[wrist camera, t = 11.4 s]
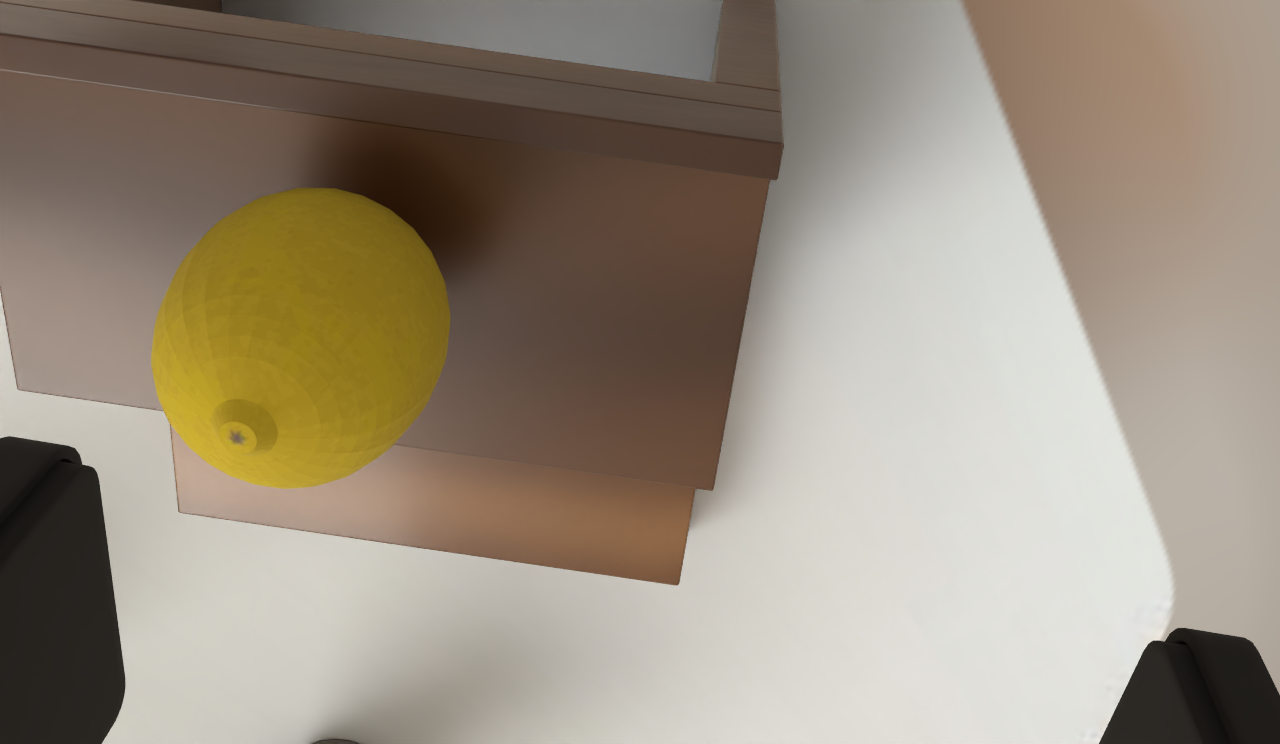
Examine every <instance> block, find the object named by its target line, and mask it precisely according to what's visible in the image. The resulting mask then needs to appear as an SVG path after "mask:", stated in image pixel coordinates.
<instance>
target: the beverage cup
mask: <svg viewBox="0 0 1280 744" xmlns="http://www.w3.org/2000/svg"><path fill="white" fill-rule="evenodd" d="M314 744H357V743H354V742H352V741H344V740H336V739H334V740H324V741H319V742H316V743H314Z"/></svg>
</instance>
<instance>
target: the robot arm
mask: <svg viewBox="0 0 1280 744" xmlns="http://www.w3.org/2000/svg"><path fill="white" fill-rule="evenodd" d="M124 693H125V673H124V666H123V658H122V651H121V643H120V635H119V628H118V620H117V613H116V605H115V598H114V590H113V583H112V575H111V568H110V560H109V552H108V545H107V537H106V530H105V522H104V515H103V507H102V500H101V492H100V485H99V479H98V475H97V472H96V471H95V469H94V468H93V467H90V466H86V465H82V462H81V458H80V455H79V453H78V452H77V451H76V449H75V448H72V447H70V446H66V445H59V444H53V443H47V442H41V441H35V440H29V439H23V438H17V437H10V436H8V437H4V438H0V744H102V742H103V741H104V739H105V737H106V736H107V734H108V732H109V731H110V729H111V727H112V726H113V724H114V722H115V720H116V718H117V716H118V714H119V711H120V709H121V706H122V702H123V698H124ZM1099 744H1280V695H1279V693H1278V691H1277V689H1276V687H1275V685H1274V683H1273V681H1272V678H1271V676H1270V674H1269V672H1268V670H1267V668H1266V666H1265V664H1264V662H1263V660H1262V658H1261V656H1260V654H1259V652H1258V650H1257V649H1256V647H1255V646H1254V644H1253V643H1252V642H1251V641H1249V640H1247V639H1246V638H1243V637H1236V636H1230V635H1224V634H1218V633H1212V632H1206V631H1200V630H1194V629H1187V628H1177V629H1175V630H1174V631H1173V632H1171V633H1170V634H1169V636H1168V637H1167V639H1166V641H1165V642H1163V641H1152V642H1151V643H1149V644H1148V645H1147V647H1146V648H1145V650H1144V651H1143V654H1142V656H1141V658H1140V660H1139V662H1138V664H1137V666H1136V668H1135V670H1134V672H1133V674H1132V676H1131V678H1130V680H1129V683H1128V685H1127V687H1126V689H1125V691H1124V693H1123V695H1122V697H1121V699H1120V701H1119V703H1118V705H1117V707H1116V709H1115V712H1114V714H1113V716H1112V718H1111V720H1110V722H1109V724H1108V726H1107V728H1106V730H1105V732H1104V734H1103V736H1102V738H1101V740H1100V743H1099Z"/></svg>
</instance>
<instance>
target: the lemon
mask: <svg viewBox="0 0 1280 744" xmlns="http://www.w3.org/2000/svg"><path fill="white" fill-rule="evenodd" d="M450 319H451V317H450V308H449V302H448V297H447V291H446V286H445V281H444V279H443V276H442V274H441V272H440V270H439V267H438V265H437V263H436V261H435V259H434V256H433V254H432V252H431V250H430V249H429V248H428V246H427V245H426V244H425V243H424V241H423V240H422V239H421V237H420V236H419V235H418V234H417V232H416V231H415V230H414V228H412V227H411V226H410V225H409V224H407V223H406V222H405V221H404V220H403V219H401V218H400V217H399V216H398V215H396V214H395V213H394V212H393V211H392V210H390V209H388V208H386V207H384V206H382V205H381V204H379V203H377V202H375V201H373V200H371V199H369V198H367V197H365V196H362V195H359V194H355V193H351V192H347V191H343V190H339V189H336V188H296V189H292V190H287V191H283V192H279V193H275V194H271V195H267V196H263V197H260V198H258V199H256V200H254V201H252V202H250V203H249V204H247V205H245V206H243V207H242V208H240V209H238V210H236V211H234V212H233V213H231V214H229V215H227V216H226V217H224V218H223V219H221V220H220V221H218V222H217V223H216V224H215V225H214V226H213V227H212V228H211V229H210V230H209V231H208V232H207V233H206V234H205V235H204V236H203V237H202V239H201V240H200V241H199V242H198V243H197V244H196V245H195V246H194V247H193V248H192V249H191V251H190V252H189V253H188V254H187V255H186V257H185V258H184V259H183V261H182V262H181V264H180V265H179V267H178V269H177V271H176V273H175V275H174V277H173V279H172V281H171V284H170V286H169V288H168V290H167V292H166V295H165V297H164V299H163V301H162V303H161V306H160V309H159V311H158V314H157V318H156V322H155V327H154V336H153V344H152V353H151V366H152V372H153V377H154V383H155V388H156V392H157V396H158V399H159V401H160V404H161V406H162V408H163V410H164V412H165V414H166V416H167V419H168V421H169V423H170V424H171V425H172V427H173V428H174V429H175V431H176V432H177V433H178V434H179V436H180V437H181V438H182V440H183V441H184V442H185V444H186V445H187V446H188V447H189V448H190V449H191V450H193V451H194V452H195V453H196V454H197V455H198V456H200V457H201V458H202V459H203V460H204V461H205V462H207V463H208V464H210V465H211V466H213V467H215V468H217V469H218V470H220V471H222V472H224V473H225V474H227V475H229V476H231V477H234V478H237V479H240V480H243V481H246V482H248V483H251V484H255V485H260V486H267V487H274V488H281V489H291V488H305V487H314V486H319V485H322V484H325V483H329V482H332V481H335V480H338V479H342V478H345V477H347V476H349V475H351V474H353V473H355V472H356V471H358V470H359V469H361V468H362V467H364V466H366V465H367V464H369V463H370V462H372V461H374V460H375V459H377V458H378V457H379V456H381V455H382V454H383V453H385V452H386V451H387V450H388V449H389V448H390V447H392V446H393V445H394V444H395V442H396V441H397V440H398V439H399V438H400V437H401V436H402V435H403V434H404V432H405V431H406V430H407V429H408V428H409V427H410V425H411V424H412V423H413V422H414V421H415V419H416V418H417V417H418V416H419V415H420V413H421V412H422V411H423V409H424V408H425V406H426V404H427V403H428V401H429V399H430V397H431V395H432V392H433V390H434V388H435V385H436V383H437V381H438V378H439V376H440V374H441V371H442V369H443V366H444V364H445V360H446V356H447V348H448V339H449V330H450Z"/></svg>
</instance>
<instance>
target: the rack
mask: <svg viewBox="0 0 1280 744" xmlns="http://www.w3.org/2000/svg"><path fill="white" fill-rule="evenodd" d="M783 148H784V137H783V120H782V103H781V88H780V71H779V54H778V36H777V19H776V1H775V0H723V1H722V7H721V14H720V21H719V28H718V34H717V41H716V48H715V54H714V61H713V68H712V74H711V81H710V82H708V81H701V80H694V79H686V78H679V77H672V76H665V75H658V74H651V73H644V72H637V71H629V70H622V69H615V68H608V67H601V66H594V65H587V64H580V63H573V62H565V61H558V60H551V59H544V58H537V57H530V56H523V55H516V54H508V53H501V52H494V51H487V50H480V49H473V48H466V47H459V46H452V45H444V44H437V43H430V42H423V41H416V40H409V39H402V38H395V37H387V36H380V35H373V34H366V33H359V32H352V31H345V30H338V29H331V28H323V27H316V26H309V25H302V24H295V23H288V22H281V21H274V20H266V19H259V18H252V17H245V16H238V15H231V14H224V13H222V11H221V0H0V291H1V297H2V303H3V308H4V314H5V320H6V326H7V332H8V337H9V343H10V349H11V355H12V360H13V366H14V372H15V378H16V384H17V389H18V390H22V391H29V392H36V393H43V394H49V395H56V396H63V397H70V398H77V399H84V400H91V401H98V402H104V403H111V404H118V405H125V406H132V407H139V408H146V409H153V410H160V411H164V410H163V408H162V406H161V404H160V401H159V399H158V396H157V392H156V388H155V383H154V377H153V372H152V366H151V353H152V344H153V336H154V327H155V322H156V318H157V314H158V311H159V309H160V306H161V303H162V301H163V299H164V297H165V295H166V292H167V290H168V288H169V286H170V284H171V281H172V279H173V277H174V275H175V273H176V271H177V269H178V267H179V265H180V264H181V262H182V261H183V259H184V258H185V257H186V255H187V254H188V253H189V252H190V251H191V249H192V248H193V247H194V246H195V245H196V244H197V243H198V242H199V241H200V240H201V239H202V237H203V236H204V235H205V234H206V233H207V232H208V231H209V230H210V229H211V228H212V227H213V226H214V225H215V224H216V223H217V222H218V221H220V220H221V219H223V218H224V217H226V216H227V215H229V214H231V213H233V212H234V211H236V210H238V209H240V208H242V207H243V206H245V205H247V204H249V203H250V202H252V201H254V200H256V199H258V198H260V197H263V196H267V195H271V194H275V193H279V192H283V191H287V190H292V189H296V188H336V189H339V190H343V191H347V192H351V193H355V194H359V195H362V196H365V197H367V198H369V199H371V200H373V201H375V202H377V203H379V204H381V205H382V206H384V207H386V208H388V209H390V210H392V211H393V212H394V213H395V214H396V215H398V216H399V217H400V218H401V219H403V220H404V221H405V222H406V223H407V224H409V225H410V226H411V227H412V228H414V230H415V231H416V232H417V234H418V235H419V236H420V237H421V239H422V240H423V241H424V243H425V244H426V245H427V246H428V248H429V249H430V250H431V252H432V254H433V256H434V259H435V261H436V263H437V265H438V267H439V270H440V272H441V274H442V276H443V279H444V281H445V286H446V291H447V297H448V302H449V308H450V317H451V319H450V330H449V339H448V348H447V356H446V360H445V364H444V366H443V369H442V371H441V374H440V376H439V378H438V381H437V383H436V385H435V388H434V390H433V392H432V395H431V397H430V399H429V401H428V403H427V404H426V406H425V408H424V409H423V411H422V412H421V413H420V415H419V416H418V417H417V418H416V419H415V421H414V422H413V423H412V424H411V425H410V427H409V428H408V429H407V430H406V431H405V432H404V434H403V435H402V436H401V437H400V438H399V439H398V440H397V441H396V442H395V444H394V445H393V446H392V447H390V448H389V449H388V450H387V451H386V452H385V453H383V454H382V455H381V456H379V457H378V458H377V459H375V460H374V461H372V462H370V463H369V464H367V465H366V466H364V467H362V468H361V469H359V470H358V471H356V472H355V473H353V474H351V475H349V476H347V477H345V478H342V479H338V480H335V481H332V482H329V483H325V484H322V485H319V486H314V487H305V488H291V489H281V488H274V487H267V486H260V485H255V484H251V483H248V482H246V481H243V480H240V479H237V478H234V477H231V476H229V475H227V474H225V473H224V472H222V471H220V470H218V469H217V468H215V467H213V466H211V465H210V464H208V463H207V462H205V461H204V460H203V459H202V458H201V457H200V456H198V455H197V454H196V453H195V452H194V451H193V450H191V449H190V448H189V447H188V446H187V445H186V444H185V442H184V441H183V440H182V438H181V437H180V436H179V434H178V433H177V432H176V431H175V429H174V428H173V427H172V425H171V424H170V430H171V440H172V451H173V461H174V471H175V481H176V491H177V501H178V511H179V512H180V513H185V514H192V515H199V516H206V517H213V518H219V519H226V520H233V521H240V522H247V523H254V524H260V525H267V526H274V527H281V528H288V529H295V530H301V531H308V532H315V533H322V534H329V535H336V536H342V537H349V538H356V539H363V540H370V541H377V542H383V543H390V544H397V545H404V546H411V547H418V548H424V549H431V550H438V551H445V552H452V553H459V554H465V555H472V556H479V557H486V558H493V559H499V560H506V561H513V562H520V563H527V564H534V565H540V566H547V567H554V568H561V569H568V570H575V571H581V572H588V573H595V574H602V575H609V576H616V577H622V578H629V579H636V580H643V581H650V582H657V583H663V584H670V585H678V584H679V582H680V576H681V571H682V565H683V559H684V553H685V548H686V542H687V536H688V530H689V524H690V519H691V513H692V507H693V501H694V496H695V490H696V489H703V490H710V491H712V490H713V489H714V484H715V479H716V473H717V468H718V462H719V457H720V451H721V446H722V441H723V435H724V430H725V424H726V419H727V413H728V408H729V402H730V397H731V391H732V386H733V380H734V375H735V369H736V364H737V358H738V353H739V347H740V342H741V336H742V331H743V326H744V320H745V315H746V309H747V304H748V298H749V293H750V287H751V282H752V276H753V271H754V265H755V260H756V254H757V249H758V243H759V238H760V232H761V227H762V221H763V216H764V211H765V205H766V200H767V194H768V189H769V183H770V180H777V179H778V175H779V170H780V164H781V159H782V154H783Z"/></svg>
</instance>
